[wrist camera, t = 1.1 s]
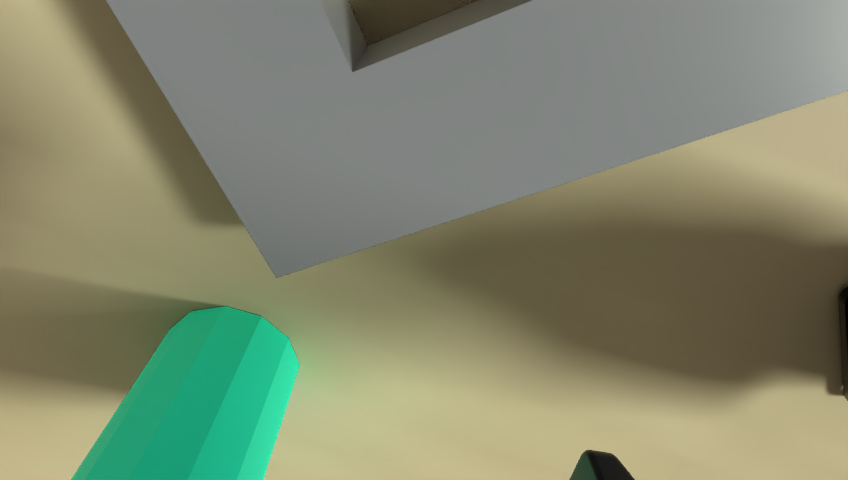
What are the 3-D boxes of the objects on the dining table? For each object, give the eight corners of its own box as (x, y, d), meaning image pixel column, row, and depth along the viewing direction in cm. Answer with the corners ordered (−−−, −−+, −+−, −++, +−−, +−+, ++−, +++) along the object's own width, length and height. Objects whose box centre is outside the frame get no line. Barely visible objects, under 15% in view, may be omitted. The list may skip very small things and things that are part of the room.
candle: (264, 426, 28) (156, 734, 18) (145, 372, 26) (-50, 673, 16) (323, 347, 25) (237, 654, 15) (195, 282, 24) (2, 572, 13)
